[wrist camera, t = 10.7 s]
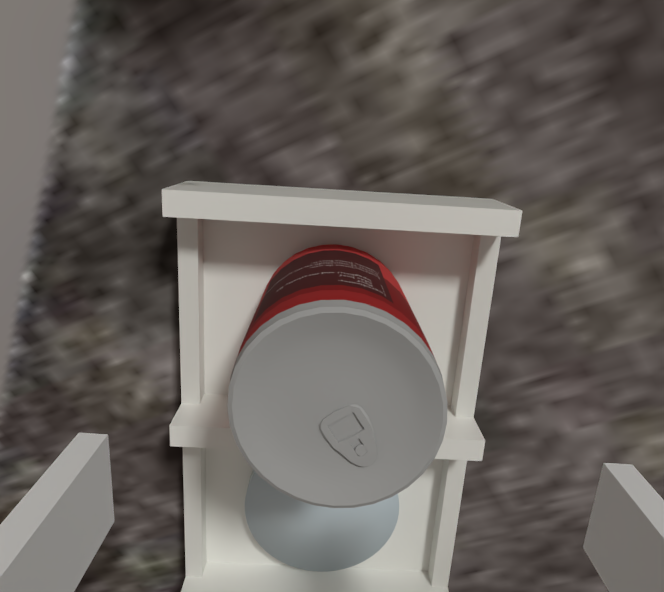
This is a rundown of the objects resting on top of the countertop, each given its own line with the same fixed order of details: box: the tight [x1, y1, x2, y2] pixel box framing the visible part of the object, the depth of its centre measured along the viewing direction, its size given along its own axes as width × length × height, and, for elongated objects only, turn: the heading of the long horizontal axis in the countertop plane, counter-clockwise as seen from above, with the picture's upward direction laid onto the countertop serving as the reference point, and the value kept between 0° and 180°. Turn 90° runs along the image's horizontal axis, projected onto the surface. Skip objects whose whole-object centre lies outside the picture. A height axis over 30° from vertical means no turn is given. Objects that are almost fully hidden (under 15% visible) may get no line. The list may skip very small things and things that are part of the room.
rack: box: [162, 181, 522, 592], centre depth 29 cm, size 16×25×4 cm, turn 177°
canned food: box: [227, 244, 447, 508], centre depth 24 cm, size 8×8×11 cm
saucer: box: [245, 469, 399, 572], centre depth 32 cm, size 9×9×1 cm
